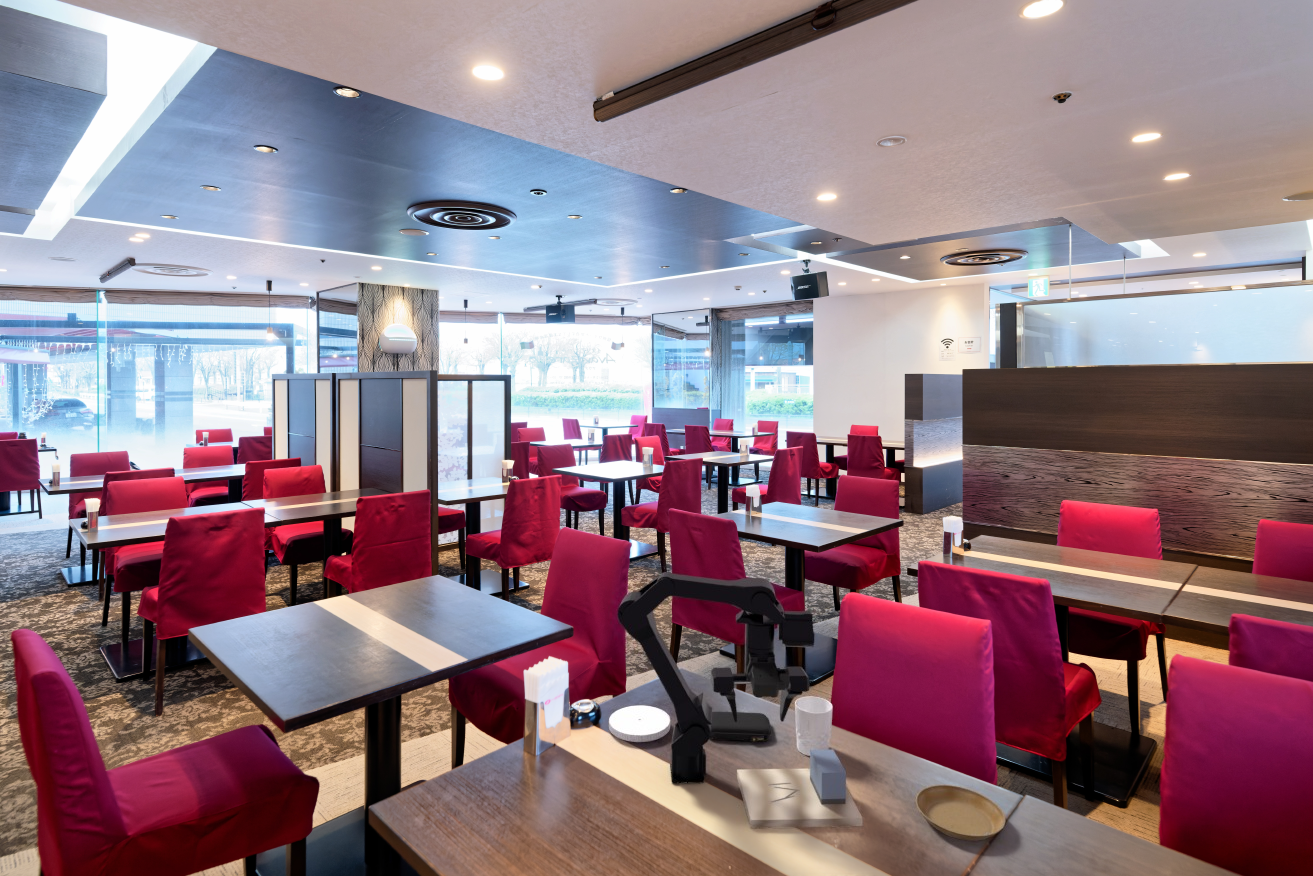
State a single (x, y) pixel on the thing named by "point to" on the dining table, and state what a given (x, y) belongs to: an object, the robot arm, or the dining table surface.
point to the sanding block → (828, 777)
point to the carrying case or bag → (740, 726)
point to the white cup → (813, 724)
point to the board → (790, 801)
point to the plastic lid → (639, 723)
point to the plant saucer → (960, 812)
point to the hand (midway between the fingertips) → (758, 721)
